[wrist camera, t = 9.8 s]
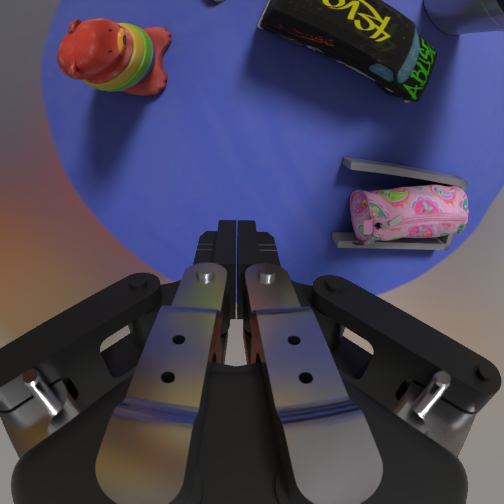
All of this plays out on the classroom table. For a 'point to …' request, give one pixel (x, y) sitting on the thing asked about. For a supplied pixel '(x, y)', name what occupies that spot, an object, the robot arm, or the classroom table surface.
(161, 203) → the classroom table surface
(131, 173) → the classroom table surface
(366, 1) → the toy van
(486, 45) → the classroom table surface
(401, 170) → the frame
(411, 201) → the pencil case
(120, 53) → the stacking bear
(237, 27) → the classroom table surface
